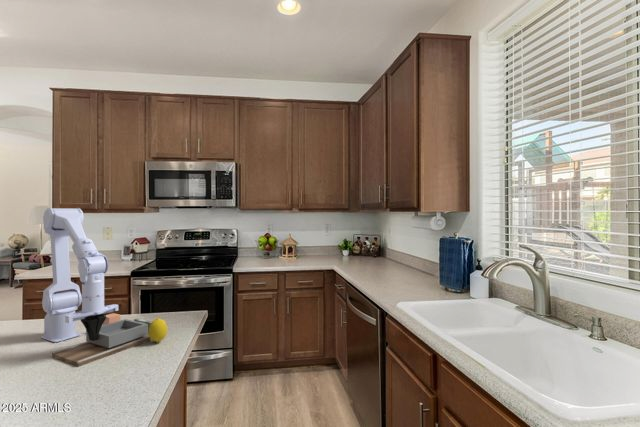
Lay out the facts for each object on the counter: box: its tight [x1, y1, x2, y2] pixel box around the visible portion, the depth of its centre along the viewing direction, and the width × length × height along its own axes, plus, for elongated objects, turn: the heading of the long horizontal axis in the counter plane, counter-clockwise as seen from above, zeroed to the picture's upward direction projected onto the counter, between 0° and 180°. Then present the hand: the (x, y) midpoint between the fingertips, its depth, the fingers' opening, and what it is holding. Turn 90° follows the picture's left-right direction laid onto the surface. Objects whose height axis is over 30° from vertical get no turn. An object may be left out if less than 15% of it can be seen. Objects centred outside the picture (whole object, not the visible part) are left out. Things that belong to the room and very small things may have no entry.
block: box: [102, 312, 121, 326], centre depth 124 cm, size 4×4×6 cm
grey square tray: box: [85, 318, 148, 348], centre depth 113 cm, size 12×13×4 cm
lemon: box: [149, 317, 168, 344], centre depth 114 cm, size 6×6×8 cm
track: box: [51, 317, 153, 367], centre depth 111 cm, size 14×27×4 cm, turn 152°
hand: (93, 339), depth 106 cm, fingers closed
